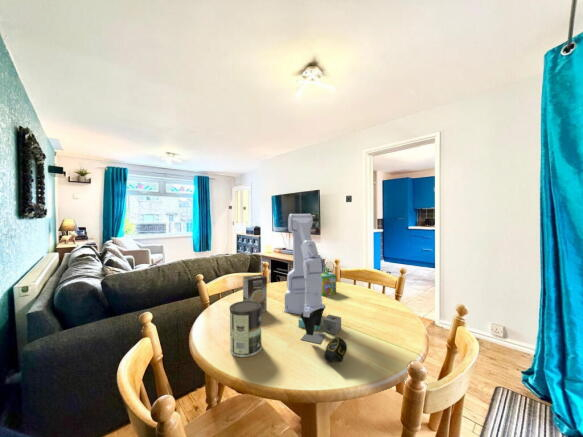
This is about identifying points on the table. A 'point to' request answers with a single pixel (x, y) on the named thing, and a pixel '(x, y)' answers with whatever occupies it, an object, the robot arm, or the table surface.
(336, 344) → the tape measure
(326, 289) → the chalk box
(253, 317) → the coffee can
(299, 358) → the table surface
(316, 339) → the stub pad
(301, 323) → the turquoise box
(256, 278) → the coffee box
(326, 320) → the dice cube
